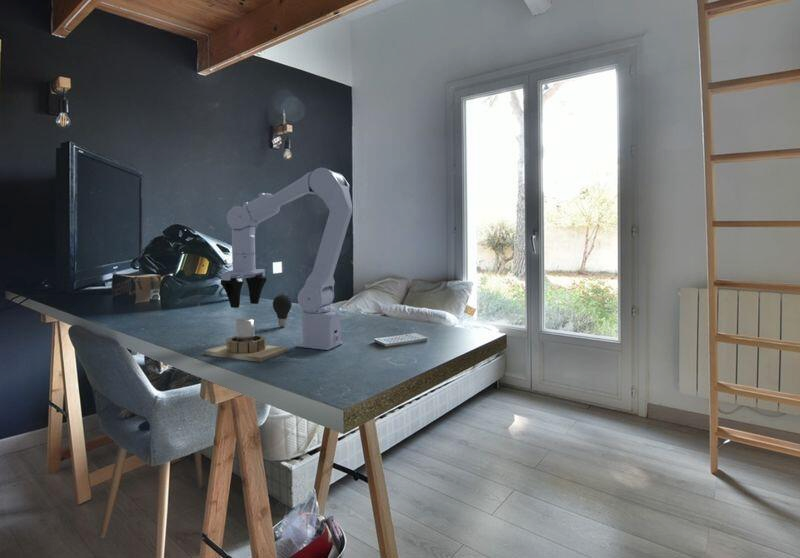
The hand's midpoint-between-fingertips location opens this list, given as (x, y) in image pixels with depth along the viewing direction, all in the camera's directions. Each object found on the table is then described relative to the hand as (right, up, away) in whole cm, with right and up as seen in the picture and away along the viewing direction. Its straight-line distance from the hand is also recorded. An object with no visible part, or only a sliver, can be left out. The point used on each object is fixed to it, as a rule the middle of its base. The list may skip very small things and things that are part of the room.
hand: (245, 305), depth 122 cm
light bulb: (+5, -8, +19) cm, 21 cm away
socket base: (+4, -11, -12) cm, 17 cm away
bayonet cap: (+4, -10, -12) cm, 16 cm away
